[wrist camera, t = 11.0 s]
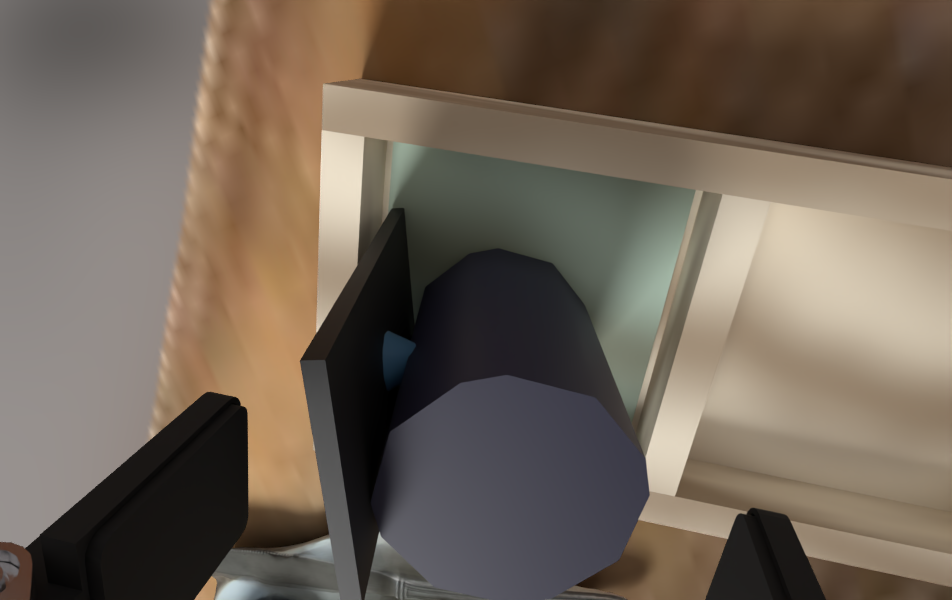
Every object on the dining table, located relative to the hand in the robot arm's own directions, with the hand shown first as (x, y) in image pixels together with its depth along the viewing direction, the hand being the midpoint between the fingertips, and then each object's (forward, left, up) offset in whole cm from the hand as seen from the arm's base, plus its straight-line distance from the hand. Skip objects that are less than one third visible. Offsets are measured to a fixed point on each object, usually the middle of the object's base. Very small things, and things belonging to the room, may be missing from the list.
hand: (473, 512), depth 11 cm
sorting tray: (+1, -5, -10) cm, 12 cm away
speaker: (0, +1, -10) cm, 10 cm away
